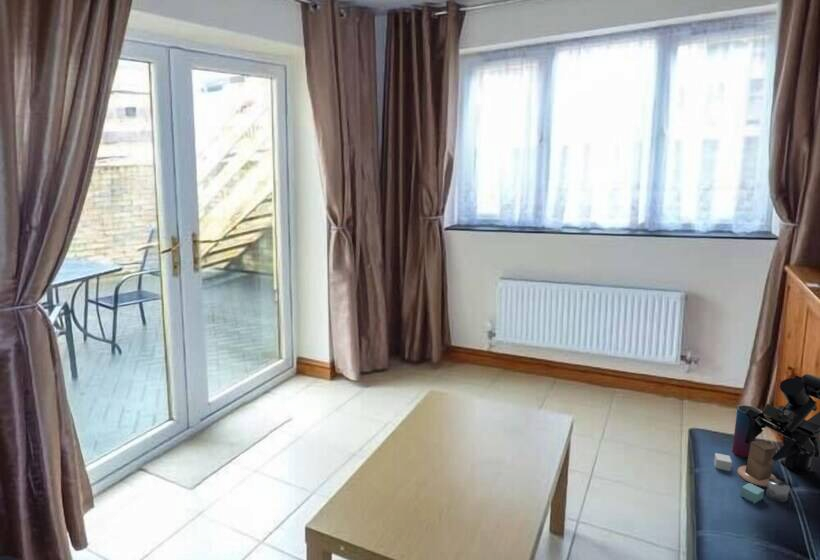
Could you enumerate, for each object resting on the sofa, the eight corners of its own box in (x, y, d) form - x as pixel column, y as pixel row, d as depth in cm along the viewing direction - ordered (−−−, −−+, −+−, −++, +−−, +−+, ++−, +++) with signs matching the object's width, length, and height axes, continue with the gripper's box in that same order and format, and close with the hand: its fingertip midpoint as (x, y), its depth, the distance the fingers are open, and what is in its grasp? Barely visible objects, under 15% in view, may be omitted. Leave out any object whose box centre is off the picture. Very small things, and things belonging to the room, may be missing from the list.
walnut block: (756, 469, 168) (762, 439, 165) (770, 478, 163) (776, 447, 161) (745, 472, 166) (751, 441, 164) (758, 480, 162) (765, 449, 160)
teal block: (747, 492, 158) (749, 482, 157) (762, 499, 155) (764, 490, 154) (739, 496, 156) (741, 486, 155) (755, 504, 152) (757, 494, 152)
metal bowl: (772, 489, 159) (775, 477, 158) (790, 499, 155) (794, 486, 154) (761, 493, 157) (764, 480, 156) (779, 503, 153) (782, 490, 152)
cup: (757, 460, 174) (766, 416, 170) (733, 457, 175) (742, 413, 172) (749, 449, 180) (757, 406, 177) (726, 446, 182) (734, 403, 178)
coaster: (756, 465, 171) (757, 464, 171) (785, 485, 162) (785, 483, 161) (729, 469, 169) (730, 467, 168) (757, 488, 159) (757, 487, 159)
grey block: (713, 461, 173) (715, 452, 172) (728, 464, 171) (729, 455, 171) (715, 468, 169) (716, 459, 168) (730, 471, 168) (731, 462, 167)
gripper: (755, 382, 169) (720, 420, 168) (815, 411, 152) (777, 453, 151) (770, 403, 173) (736, 440, 172) (830, 433, 156) (793, 474, 155)
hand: (758, 451), depth 163 cm, fingers open, 9 cm apart
